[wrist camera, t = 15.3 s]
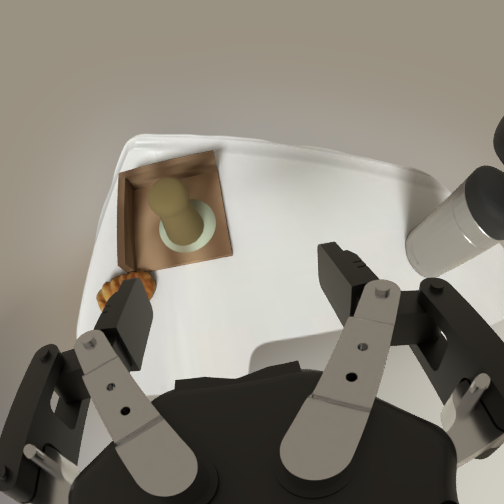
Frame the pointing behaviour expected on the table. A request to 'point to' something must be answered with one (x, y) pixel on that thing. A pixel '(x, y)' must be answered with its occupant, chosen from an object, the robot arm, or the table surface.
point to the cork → (176, 211)
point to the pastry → (115, 284)
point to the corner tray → (150, 225)
